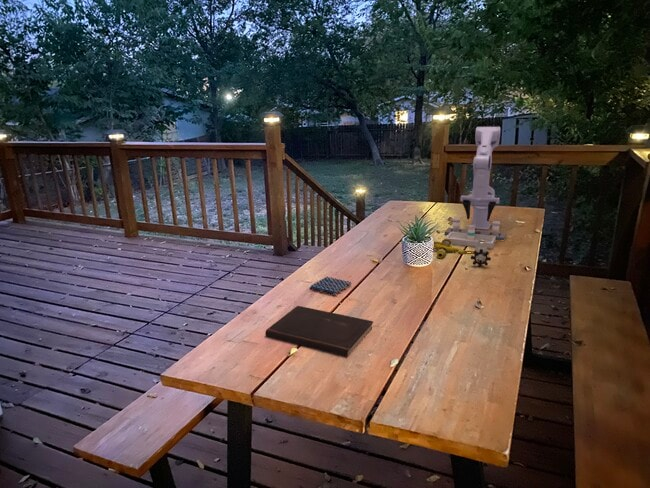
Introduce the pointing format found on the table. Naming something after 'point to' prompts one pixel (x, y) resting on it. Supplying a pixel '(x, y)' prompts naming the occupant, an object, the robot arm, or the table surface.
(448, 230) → the holder
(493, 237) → the tray
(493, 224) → the cylinder
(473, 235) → the marked cartridge
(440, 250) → the sprinkler
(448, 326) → the table surface
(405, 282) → the table surface
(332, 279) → the woven mat
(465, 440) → the table surface
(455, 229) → the cartridge
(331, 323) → the hardcover book
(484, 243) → the valve
